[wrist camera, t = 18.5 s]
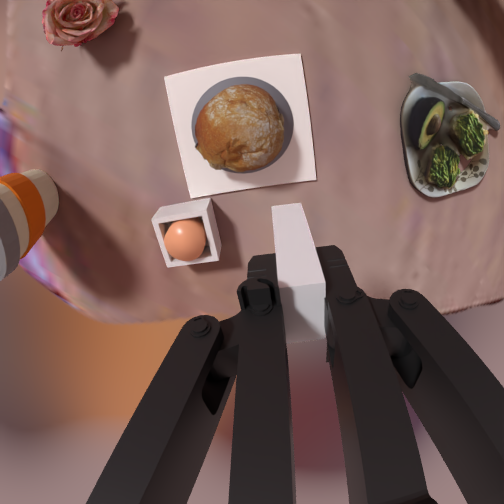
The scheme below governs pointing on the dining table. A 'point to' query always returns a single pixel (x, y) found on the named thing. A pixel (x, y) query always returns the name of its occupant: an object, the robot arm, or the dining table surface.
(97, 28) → the flower
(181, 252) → the button
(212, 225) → the button housing
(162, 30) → the dining table surface
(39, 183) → the reusable coffee cup
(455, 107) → the salad plate
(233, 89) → the bread roll
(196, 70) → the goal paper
